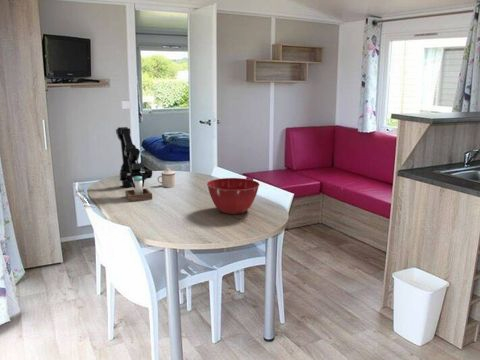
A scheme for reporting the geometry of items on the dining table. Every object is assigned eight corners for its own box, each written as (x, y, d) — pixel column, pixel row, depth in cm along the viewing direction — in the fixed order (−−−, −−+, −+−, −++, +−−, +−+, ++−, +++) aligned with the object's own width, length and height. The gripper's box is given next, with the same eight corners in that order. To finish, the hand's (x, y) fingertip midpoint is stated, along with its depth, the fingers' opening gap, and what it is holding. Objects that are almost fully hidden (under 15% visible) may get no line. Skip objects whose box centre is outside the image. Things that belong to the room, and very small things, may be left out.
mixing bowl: (223, 200, 259) (223, 175, 256) (267, 207, 246) (268, 180, 243) (197, 213, 235) (196, 185, 231) (244, 221, 222) (244, 192, 219)
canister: (133, 195, 261) (132, 176, 258) (141, 195, 263) (141, 175, 260) (136, 198, 255) (135, 178, 252) (144, 198, 257) (143, 178, 254)
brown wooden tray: (125, 197, 263) (125, 190, 262) (147, 195, 269) (146, 188, 268) (130, 203, 252) (129, 195, 251) (152, 200, 257) (152, 193, 256)
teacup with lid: (172, 183, 298) (172, 167, 296) (177, 186, 291) (176, 169, 288) (155, 185, 293) (155, 168, 290) (159, 188, 285) (159, 171, 282)
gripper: (119, 158, 254) (124, 181, 247) (151, 156, 262) (156, 178, 255) (117, 169, 263) (122, 191, 256) (148, 166, 271) (153, 188, 264)
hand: (138, 187), depth 257 cm, fingers closed on canister, 5 cm apart
